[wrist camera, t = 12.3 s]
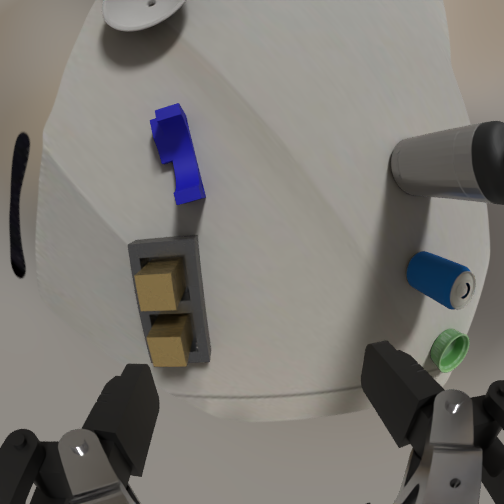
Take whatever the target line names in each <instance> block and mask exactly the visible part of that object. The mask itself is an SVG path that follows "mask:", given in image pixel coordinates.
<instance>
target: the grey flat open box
mask: <svg viewBox="0 0 504 504" xmlns="http://www.w3.org/2000/svg"><path fill="white" fill-rule="evenodd" d="M128 250H129V257H130V264H131V270H132V276H133V282H134V288H135V293H136V299H137V304H138V309H139V313H140V318H141V323H142V327H143V331H144V336H145V340H146V344H147V348H148V352H149V356H150V359H151V363H153V361H152V358H151V354H150V350H149V346H148V342H147V338H146V337H147V335H148V334H149V332H150V330H151V328H152V326H153V324H154V322H155V321H156V319H157V317H158V315H159V314H179V313H190V319H191V325H192V331H193V341H192V345H191V349H190V354H189V358H188V362H187V363H193V362H210V356H211V345H210V338H209V331H208V324H207V316H206V308H205V300H204V292H203V283H202V274H201V265H200V255H199V245H198V235H189V236H176V237H165V238H153V239H142V240H135V241H133V242H132V243H130V244H128ZM175 257H183V265H184V273H185V281H186V289H185V291H184V294H183V296H182V298H181V300H180V303H179V305H178V307H177V309H176V310H165V311H141V309H140V304H139V299H138V294H137V288H136V283H135V277H134V275H135V274H137V273H138V272H139V271H140V270H141V269H142V268H143V267H144V266H145V265H146V264H148V263H149V262H150V261H151V260H152V259H161V258H175Z"/></svg>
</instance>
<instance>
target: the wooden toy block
mask: <svg viewBox="0 0 504 504" xmlns="http://www.w3.org/2000/svg"><path fill="white" fill-rule="evenodd" d="M146 338H147V342H148V346H149V350H150V354H151V358H152V361H153V365H154V367H179V366H187V362H188V358H189V354H190V349H191V345H192V341H193V331H192V325H191V319H190V313H179V314H159V315H158V317H157V319H156V321H155V322H154V324H153V326H152V328H151V330H150V332H149V334H148V335H147V337H146Z"/></svg>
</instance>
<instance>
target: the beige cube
mask: <svg viewBox="0 0 504 504" xmlns="http://www.w3.org/2000/svg"><path fill="white" fill-rule="evenodd" d="M134 277H135V283H136V288H137V294H138V299H139V304H140V309H141V311H165V310H176V309H177V307H178V305H179V303H180V300H181V298H182V296H183V294H184V291H185V289H186V281H185V273H184V265H183V257H175V258H161V259H152V260H151V261H150V262H149V263H148V264H146V265H145V266H144V267H143V268H142V269H141V270H140V271H139V272H138V273H137V274H135V275H134Z"/></svg>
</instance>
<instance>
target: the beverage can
mask: <svg viewBox="0 0 504 504" xmlns="http://www.w3.org/2000/svg"><path fill="white" fill-rule="evenodd" d="M407 280H408V283H409V284H410V285H411V286H412V287H413V288H415V289H417V290H418V291H420V292H422V293H424V294H425V295H427V296H429V297H430V298H432V299H434V300H435V301H437V302H439V303H440V304H442V305H444V306H445V307H447V308H449V309H457V310H460V309H462V308H464V307H465V306H467V305H468V303H469V302H470V301H471V299H472V297H473V295H474V292H475V287H476V280H475V276H474V275H473V273H472V272H471V271H470V270H469V269H468V268H467V267H465V266H463V265H460V264H458V263H455V262H453V261H450V260H447V259H445V258H442V257H439V256H437V255H434V254H431V253H429V252H425V251H422V252H419V253H417V254H416V255H414V256H413V258H412V259H411V260H410V262H409V264H408V267H407Z"/></svg>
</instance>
